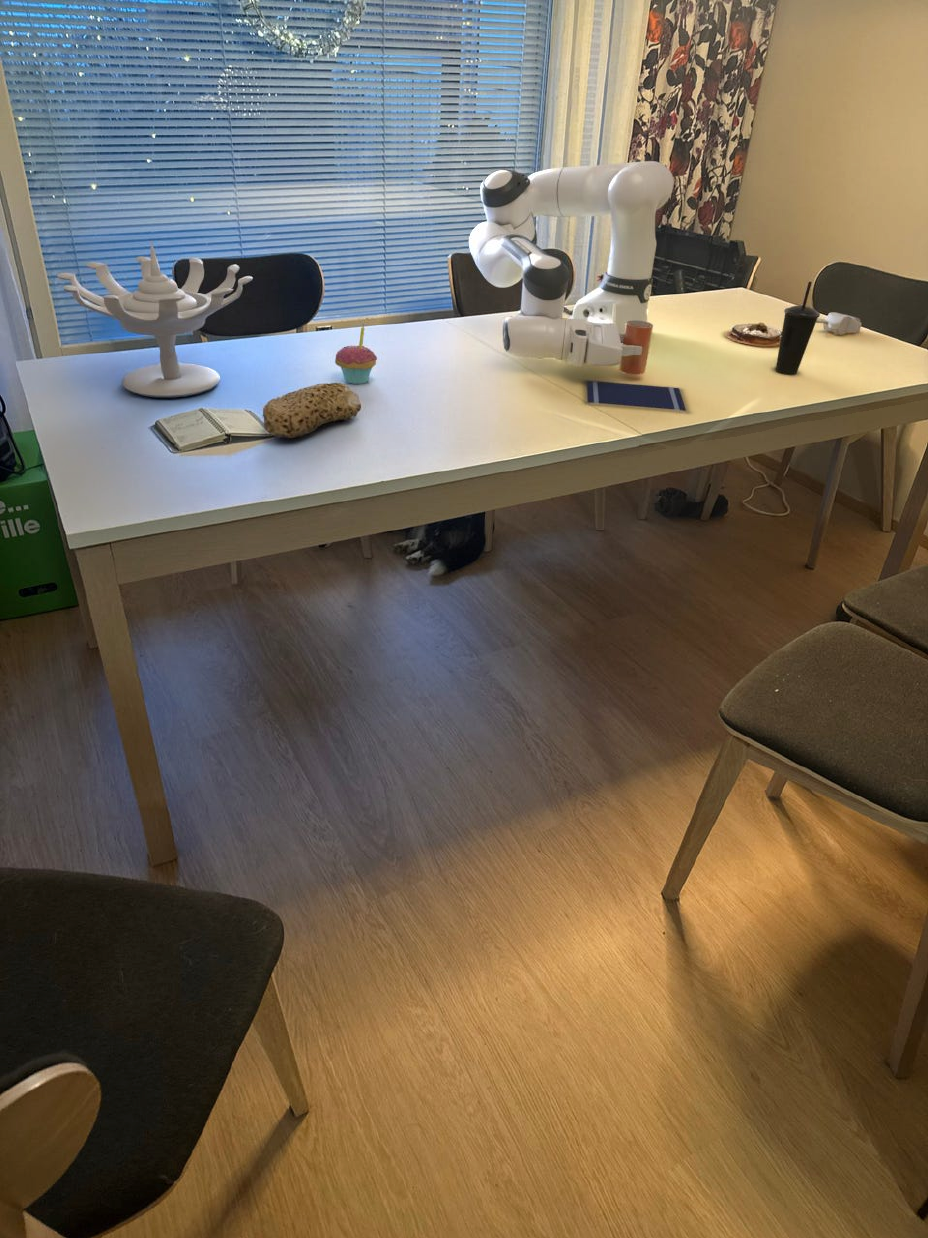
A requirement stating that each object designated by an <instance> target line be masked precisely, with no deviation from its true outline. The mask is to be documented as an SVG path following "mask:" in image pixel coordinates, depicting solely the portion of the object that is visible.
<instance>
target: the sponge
mask: <svg viewBox="0 0 928 1238" xmlns="http://www.w3.org/2000/svg"><path fill="white" fill-rule="evenodd" d="M361 409H362V403H361V400H360V397H359V396H358V394H357V393H355V392H354V391H353V390H352V389H351V388H349V387H348V386H347V384H344V383H341V382H330V383H324V382H322V383H318V384H317V383H316V384H314V385H310V386H307V387H303V388H299V389H297V390H293V391H291V392H288V393H286V394H284V395H281V397H280V396H277V397H275V398H271V399H270V400H268V401H267V403H266V404H265V405H264V406H263V408H262V417H263V426H264V428H265V430H266V431H267V432H268V434H270V435H272V436H275V437H278V438H285V439H294V438H299V437H303V436H304V435H307V434H309V433H312V432H314V431H315V430H316V429H317V428H319V427H320V426H321V425H324V424H329V422H335V421H340V420H350V419H352V418H353V417H355V418H356V416H357V415H358V413H360V411H361Z"/></svg>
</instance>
